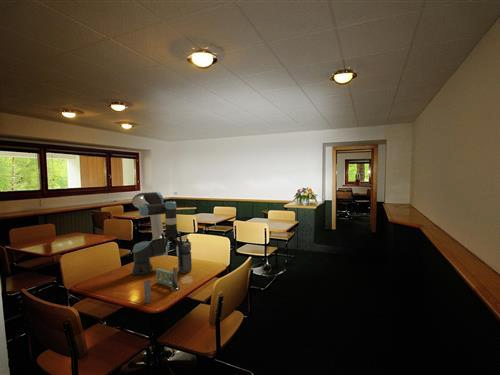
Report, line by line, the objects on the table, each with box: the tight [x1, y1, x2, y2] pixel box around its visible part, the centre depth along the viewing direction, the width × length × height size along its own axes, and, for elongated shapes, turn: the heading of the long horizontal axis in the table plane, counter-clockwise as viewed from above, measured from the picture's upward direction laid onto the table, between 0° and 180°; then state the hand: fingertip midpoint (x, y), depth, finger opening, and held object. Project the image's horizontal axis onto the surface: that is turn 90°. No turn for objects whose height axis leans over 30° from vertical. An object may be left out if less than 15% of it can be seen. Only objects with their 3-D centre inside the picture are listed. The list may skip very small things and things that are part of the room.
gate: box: [155, 267, 174, 288], centre depth 170 cm, size 17×3×9 cm, turn 57°
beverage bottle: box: [177, 238, 193, 274], centre depth 194 cm, size 10×13×25 cm
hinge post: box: [170, 266, 181, 292], centre depth 164 cm, size 6×6×15 cm
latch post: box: [142, 279, 152, 304], centre depth 147 cm, size 3×3×13 cm
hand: (172, 256), depth 174 cm, fingers open, 7 cm apart
